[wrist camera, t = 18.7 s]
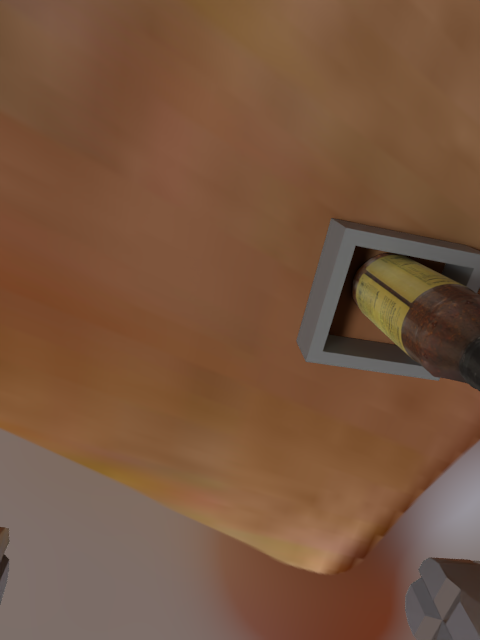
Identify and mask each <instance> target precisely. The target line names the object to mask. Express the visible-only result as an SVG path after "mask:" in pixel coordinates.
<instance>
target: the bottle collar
mask: <svg viewBox="0 0 480 640" xmlns="http://www.w3.org/2000/svg"><path fill="white" fill-rule="evenodd" d="M355 246H360V247H365V248H371V249H376V250H381V251H386V252H391V253H397V254H402V255H407V256H412V257H417V258H422V259H428V260H433V261H438V262H443V263H446V264H445V266H444V269H443V271H442V275H444V276H446V277H448V278H450V279H452V280H454V281H456V282H458V283H460V284H462V285H464V286H466V287H468V288H470V289H471V290H473V291H474V292H475V293H477V292H478V290H479V288H480V251H478V250H476V249H473V248H471V247H469V246H466V245H462V244H457V243H452V242H447V241H442V240H437V239H432V238H427V237H422V236H418V235H413V234H408V233H403V232H398V231H393V230H388V229H383V228H378V227H373V226H368V225H363V224H358V223H353V222H348V221H343V220H338V219H333V218H331V221H330V225H329V228H328V232H327V235H326V239H325V243H324V246H323V250H322V253H321V257H320V260H319V264H318V267H317V271H316V274H315V278H314V281H313V285H312V288H311V292H310V295H309V299H308V302H307V306H306V309H305V313H304V316H303V320H302V323H301V327H300V330H299V334H298V337H297V344H298V346H299V348H300V350H301V352H302V354H303V356H304V359H305V361H306V362H313V363H320V364H327V365H334V366H341V367H347V368H354V369H361V370H368V371H375V372H382V373H389V374H396V375H403V376H410V377H417V378H424V379H431V380H438V381H439V379H440V377H434V376H432V375H431V373H429V372H428V371H427V370H426V369H425V368H424V367H423V366H422V365H421V364H420V363H418V362H416V361H415V360H413V359H412V358H411V357H410V356H408V355H407V354H406V353H405V352H404V351H403V350H402V349H401V348H400V347H398V346H397V345H393V344H386V343H380V342H373V341H367V340H360V339H354V338H348V337H341V336H335V335H328V333H329V329H330V326H331V323H332V320H333V317H334V313H335V310H336V307H337V304H338V301H339V297H340V294H341V291H342V288H343V285H344V281H345V278H346V275H347V272H348V269H349V265H350V262H351V259H352V256H353V253H354V249H355Z"/></svg>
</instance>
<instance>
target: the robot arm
mask: <svg viewBox="0 0 480 640" xmlns="http://www.w3.org/2000/svg"><path fill="white" fill-rule="evenodd" d="M8 544H9V528H4V527H0V603H1V601H2V597H3V594H4V590H5V587H6V583H7V578H8V572H9V559H8V558H7V557H6V556H5V555H4V553H5V550H6V548H7V546H8ZM419 572H420V575H421V578H419V579H418V580H416V581H415V582H413V583H412V584H411V585H410V587H409V589H408V592H407V594H406V601H405V611H406V616H407V620H408V624H409V626H410V629H411V631H412V634H413V636H414V637H415V638H416V639H417V640H480V561H471V560H464V559H446V558H445V559H444V558H428V559H426V560H424V561H423V562H422V564H421V566H420V568H419Z"/></svg>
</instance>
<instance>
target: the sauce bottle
mask: <svg viewBox="0 0 480 640" xmlns="http://www.w3.org/2000/svg"><path fill="white" fill-rule="evenodd" d="M352 295H353V299H354V300H355V302H356V304H357V305H358V307H359V308H360V310H361V311H362V313H363V314H364V315H365V316H366V317H367V318H369V319H370V320H371V321H372V322H373V323H374V324H375V325H376V326H377V327H378V328H379V329H380V330H381V331H382V332H383V333H384V334H386V335H387V336H388V337H389V338H390V339H391V340H392V341H393V342H394V343H395V344H396V345H397V346H398V347H400V348H401V349H402V350H403V351H404V352H405V353H406V354H407V355H408V356H410V357H411V358H412V359H413V360H415V361H416V362H418V363H420V364H421V365H422V366H423V367H424V368H425V369H426V370H427V371H428V372H429V373H431V375H432V376H434V377H441V378H446V379H451V380H456V381H460V382H465V383H468V384H469V385H470V386H472V387H473V388H475V389H478V390H479V391H480V295H479V294H477V293H475V292H474V291H473V290H471V289H470V288H468V287H466V286H464V285H462V284H460V283H458V282H456V281H454V280H452V279H450V278H448V277H446V276H444V275H442V274H440V273H438V272H436V271H434V270H432V269H430V268H428V267H426V266H424V265H422V264H420V263H418V262H416V261H414V260H412V259H410V258H408V257H405V256H403V255H395V254H385V253H383V254H379V255H377V256H375V257H373V258H371V259H370V260H368V261H367V262H365V263H364V264H363V265H362V266H361V267H360V268H359V269H358V270H357V272H356V274H355V276H354V280H353V286H352Z"/></svg>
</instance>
